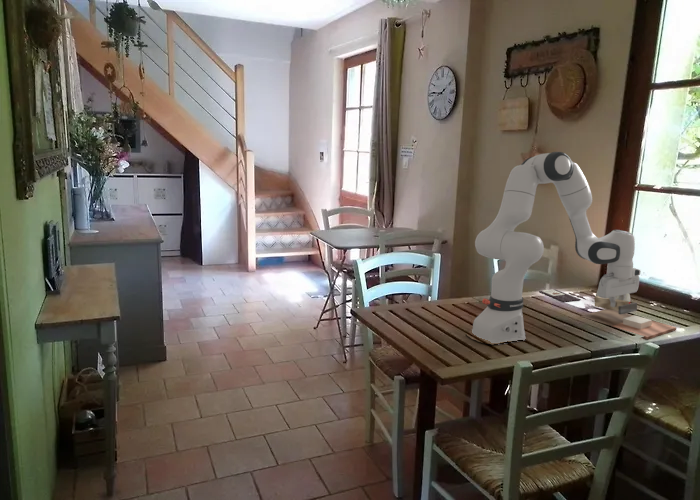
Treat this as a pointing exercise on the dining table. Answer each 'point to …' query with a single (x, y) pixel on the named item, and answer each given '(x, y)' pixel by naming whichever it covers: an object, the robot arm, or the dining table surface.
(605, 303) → the squeegee
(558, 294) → the chocolate bar
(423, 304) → the dining table surface
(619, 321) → the board
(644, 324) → the tile
